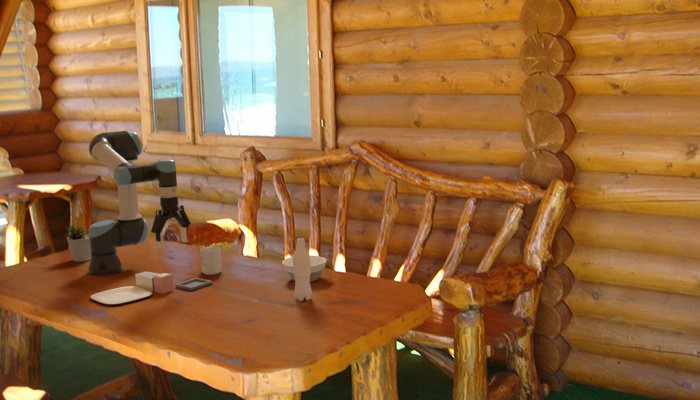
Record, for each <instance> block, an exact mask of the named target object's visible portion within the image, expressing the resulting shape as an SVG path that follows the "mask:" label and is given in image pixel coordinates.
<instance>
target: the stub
mask: <svg viewBox="0 0 700 400" xmlns="http://www.w3.org/2000/svg"><path fill="white" fill-rule="evenodd" d="M158 274H159V275H156V276H153V278H154V290H155V291H154V293H156V292H157V294H162V295H163V294H166V293H167V294H168V293H169V292H172V291H174V280H173V273H167V272H166V273H165V272H162V273H158Z"/></svg>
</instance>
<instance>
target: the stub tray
mask: <svg viewBox="0 0 700 400" xmlns="http://www.w3.org/2000/svg"><path fill="white" fill-rule="evenodd" d="M211 285H213V280H210V279H205V278H204V279H203V278H199V277H195V278H194V277H193V278H191V279H188V280H185V281H183V282H179V283H176V284H175V289H178V290H179V289H180V290H185V291H189V292H192V291H193V292H194V291H196V290H200V289H202V288H206V287H208V286H211Z"/></svg>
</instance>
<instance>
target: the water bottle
mask: <svg viewBox="0 0 700 400" xmlns="http://www.w3.org/2000/svg"><path fill="white" fill-rule="evenodd" d="M305 245H306V241H305V238H303V237H298V238H297V239H296V249H295V251H294V253H293V256H292V257H293V273H294V276H295V281H294V282H295V283H294V284H295V287H294V291H293V295H294V298H295V300H296V301H298V302H303V301H304V299H305V301H306V302H307V301H310V300H311V298H312V294H313V291H312V287H311V282H310V274H311V267H310V260H311V259H310V256H311V255H310V253H309V252H308V250H307V249H306V246H305Z"/></svg>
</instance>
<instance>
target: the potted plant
mask: <svg viewBox="0 0 700 400" xmlns="http://www.w3.org/2000/svg"><path fill="white" fill-rule="evenodd" d="M79 225H80V224H78V225H77V226H75V224H74V223H73V222H72V223H71V224H70V223H68V225H67V226H65V228H66V229H67V231H68V232H67V234H68V236H66V235H64V237H65V238H66V241H67V244H68V247H69V250H70V251H69V252H70V255H71V258H72V261H73V262H75V263H83V262H89V261H90V259H91V250H90V239H89V228H87V227H88V225H87V226H85V224H82V225H81V226H79Z"/></svg>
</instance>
